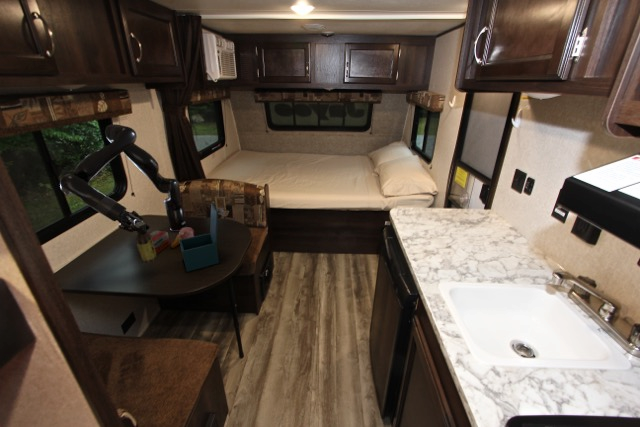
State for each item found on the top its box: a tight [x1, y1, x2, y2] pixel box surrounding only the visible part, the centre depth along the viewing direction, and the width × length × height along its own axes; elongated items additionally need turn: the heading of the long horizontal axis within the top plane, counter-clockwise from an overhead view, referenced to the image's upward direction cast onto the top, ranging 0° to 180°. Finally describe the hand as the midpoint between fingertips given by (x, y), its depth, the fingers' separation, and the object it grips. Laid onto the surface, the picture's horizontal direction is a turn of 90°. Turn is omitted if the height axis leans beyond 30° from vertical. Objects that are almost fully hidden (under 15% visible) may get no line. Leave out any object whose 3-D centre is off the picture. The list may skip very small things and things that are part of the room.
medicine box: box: [136, 230, 171, 256], centre depth 162 cm, size 15×8×8 cm, turn 172°
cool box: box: [179, 232, 220, 273], centre depth 151 cm, size 16×13×12 cm
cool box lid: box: [209, 203, 226, 244], centre depth 150 cm, size 17×13×5 cm
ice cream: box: [170, 226, 195, 249], centre depth 168 cm, size 11×10×15 cm
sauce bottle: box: [135, 221, 158, 264], centre depth 137 cm, size 6×6×20 cm
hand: (146, 230), depth 135 cm, fingers closed on sauce bottle, 4 cm apart
